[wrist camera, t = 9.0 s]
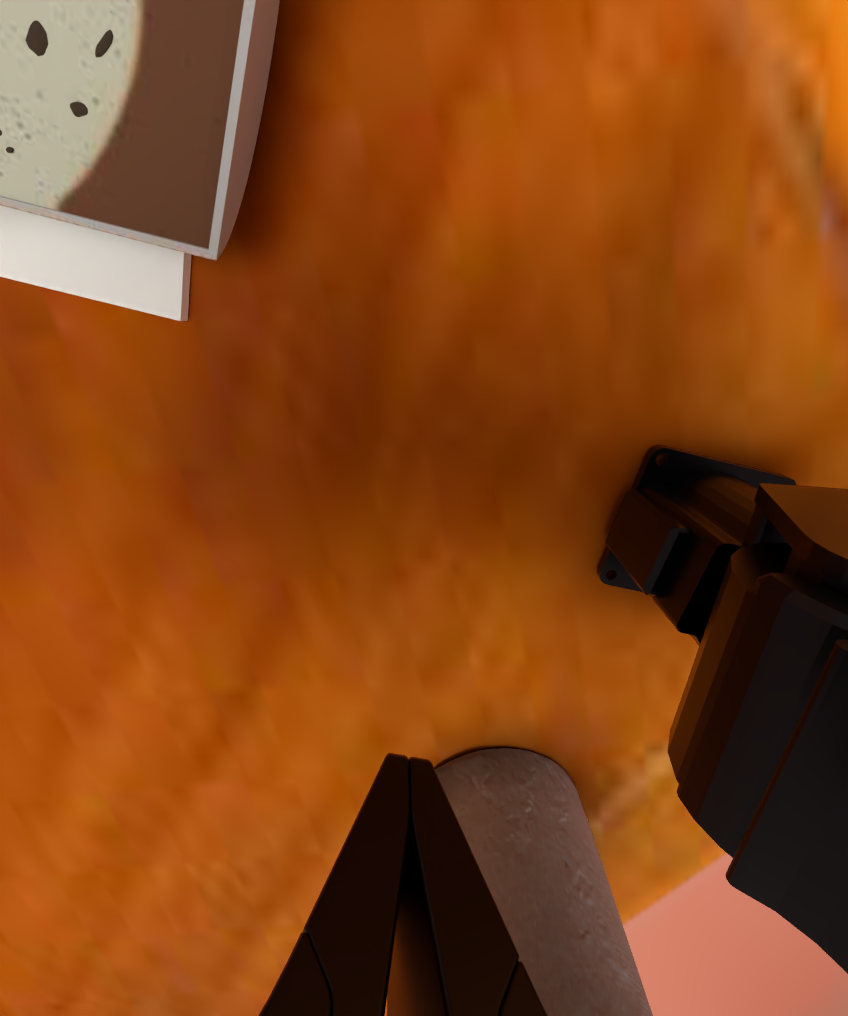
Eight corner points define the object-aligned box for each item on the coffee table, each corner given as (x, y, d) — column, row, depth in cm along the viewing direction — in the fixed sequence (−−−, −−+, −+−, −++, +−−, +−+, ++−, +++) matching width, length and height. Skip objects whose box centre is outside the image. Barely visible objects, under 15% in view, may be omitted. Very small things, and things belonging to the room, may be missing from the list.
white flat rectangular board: (221, -272, 13) (212, -299, 12) (187, 320, 18) (180, 320, 18) (-238, -439, 12) (-270, -476, 11) (-129, 242, 17) (-147, 240, 17)
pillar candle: (386, 835, 29) (361, 1313, 15) (457, 722, 26) (506, 1204, 12) (529, 875, 31) (622, 1338, 17) (613, 773, 28) (812, 1248, 14)
